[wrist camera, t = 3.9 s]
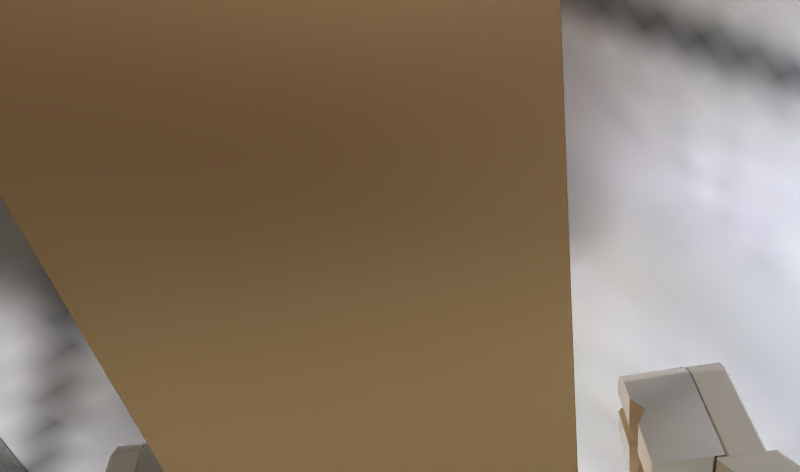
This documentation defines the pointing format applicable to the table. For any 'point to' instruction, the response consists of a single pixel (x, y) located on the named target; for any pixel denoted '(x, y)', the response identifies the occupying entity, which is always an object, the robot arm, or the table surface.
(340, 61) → the wooden block
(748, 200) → the table surface
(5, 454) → the ridge
